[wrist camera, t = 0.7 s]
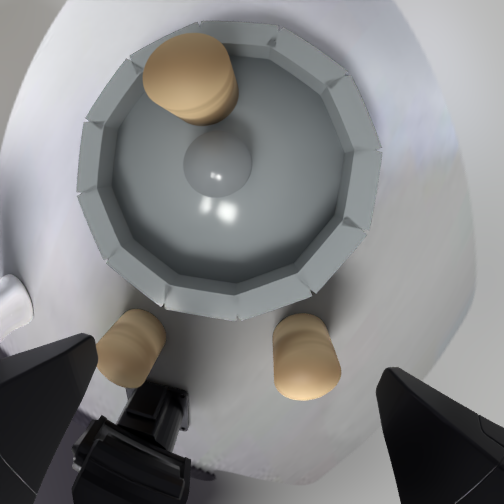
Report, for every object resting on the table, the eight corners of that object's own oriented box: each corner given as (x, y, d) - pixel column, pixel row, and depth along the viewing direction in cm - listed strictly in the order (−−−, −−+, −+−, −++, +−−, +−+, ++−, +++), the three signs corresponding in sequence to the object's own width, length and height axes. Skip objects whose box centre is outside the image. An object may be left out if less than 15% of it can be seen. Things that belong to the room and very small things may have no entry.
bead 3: (319, 360, 22) (329, 401, 17) (268, 355, 22) (268, 398, 17) (333, 316, 20) (349, 353, 16) (278, 309, 20) (281, 348, 16)
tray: (332, 313, 20) (341, 333, 17) (98, 275, 20) (79, 288, 17) (372, 66, 15) (388, 52, 12) (124, 45, 15) (106, 32, 12)
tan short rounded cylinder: (233, 129, 16) (221, 111, 11) (167, 124, 16) (135, 109, 11) (243, 67, 15) (236, 33, 10) (178, 65, 15) (152, 35, 10)
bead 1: (166, 357, 22) (148, 394, 17) (122, 345, 22) (98, 378, 17) (166, 314, 21) (143, 349, 16) (118, 304, 21) (88, 333, 16)
